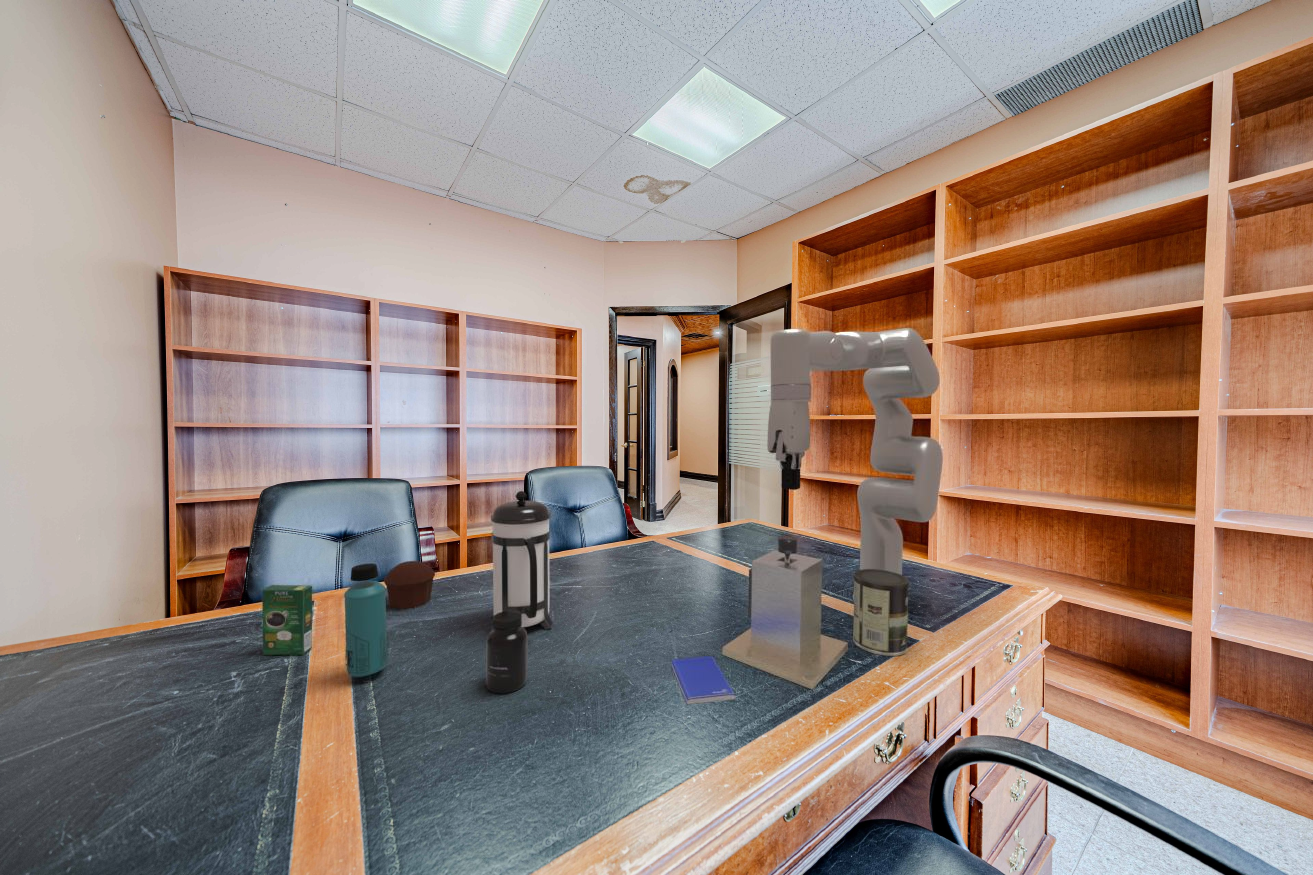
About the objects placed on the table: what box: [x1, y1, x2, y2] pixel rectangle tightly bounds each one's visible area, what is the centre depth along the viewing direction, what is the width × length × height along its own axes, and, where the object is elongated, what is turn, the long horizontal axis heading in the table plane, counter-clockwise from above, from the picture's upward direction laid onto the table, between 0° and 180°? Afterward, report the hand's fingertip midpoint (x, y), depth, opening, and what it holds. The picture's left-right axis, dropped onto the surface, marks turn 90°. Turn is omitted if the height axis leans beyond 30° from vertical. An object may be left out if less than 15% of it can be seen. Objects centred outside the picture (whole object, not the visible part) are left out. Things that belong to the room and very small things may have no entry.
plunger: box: [777, 536, 798, 563], centre depth 92 cm, size 7×7×16 cm
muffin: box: [383, 560, 436, 610], centre depth 117 cm, size 12×11×10 cm
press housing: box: [722, 549, 849, 690], centre depth 92 cm, size 18×18×18 cm
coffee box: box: [261, 584, 313, 656], centre depth 92 cm, size 8×3×13 cm, turn 92°
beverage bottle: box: [343, 563, 389, 678], centre depth 83 cm, size 6×7×20 cm
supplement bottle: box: [485, 611, 528, 695], centre depth 81 cm, size 7×7×12 cm
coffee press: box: [490, 490, 554, 631], centre depth 103 cm, size 17×16×30 cm
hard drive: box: [670, 656, 736, 705], centre depth 83 cm, size 2×8×12 cm
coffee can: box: [852, 569, 910, 657], centre depth 96 cm, size 10×10×14 cm
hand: (790, 488), depth 92 cm, fingers closed
